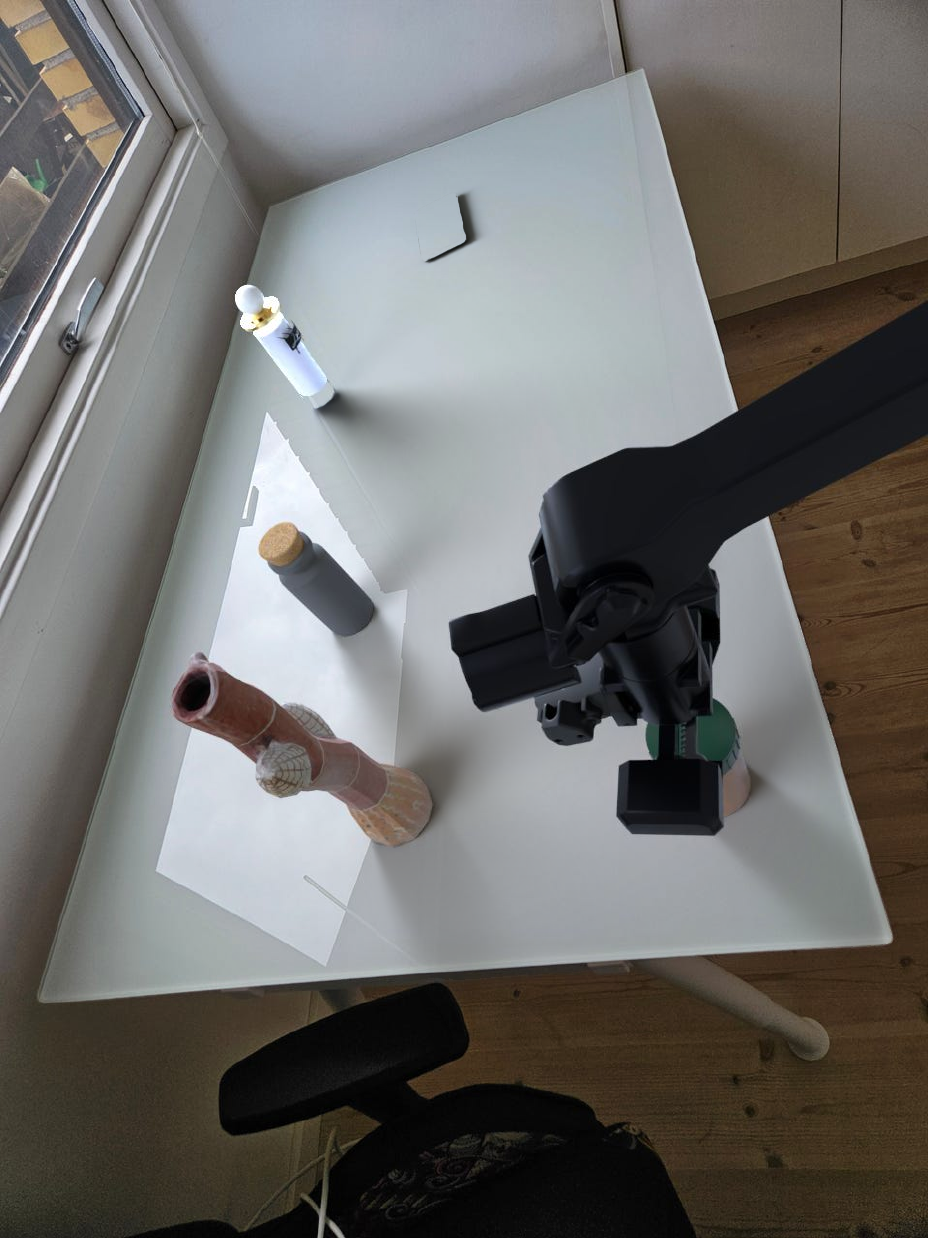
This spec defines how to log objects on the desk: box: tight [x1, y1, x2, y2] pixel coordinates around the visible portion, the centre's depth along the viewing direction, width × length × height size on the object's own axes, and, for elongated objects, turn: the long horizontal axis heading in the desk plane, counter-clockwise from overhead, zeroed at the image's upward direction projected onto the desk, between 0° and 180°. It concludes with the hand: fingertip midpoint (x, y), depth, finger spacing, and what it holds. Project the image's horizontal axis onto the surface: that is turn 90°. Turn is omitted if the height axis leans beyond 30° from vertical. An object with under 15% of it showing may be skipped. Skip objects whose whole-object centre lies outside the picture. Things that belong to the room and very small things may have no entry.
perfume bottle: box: [235, 284, 328, 396], centre depth 111 cm, size 6×6×20 cm
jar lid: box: [644, 697, 741, 776], centre depth 60 cm, size 7×7×2 cm
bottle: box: [257, 521, 374, 637], centre depth 88 cm, size 6×6×15 cm
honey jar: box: [723, 748, 752, 818], centre depth 63 cm, size 6×6×10 cm
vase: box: [169, 651, 434, 848], centre depth 66 cm, size 10×7×30 cm
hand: (694, 740), depth 60 cm, fingers open, 7 cm apart
